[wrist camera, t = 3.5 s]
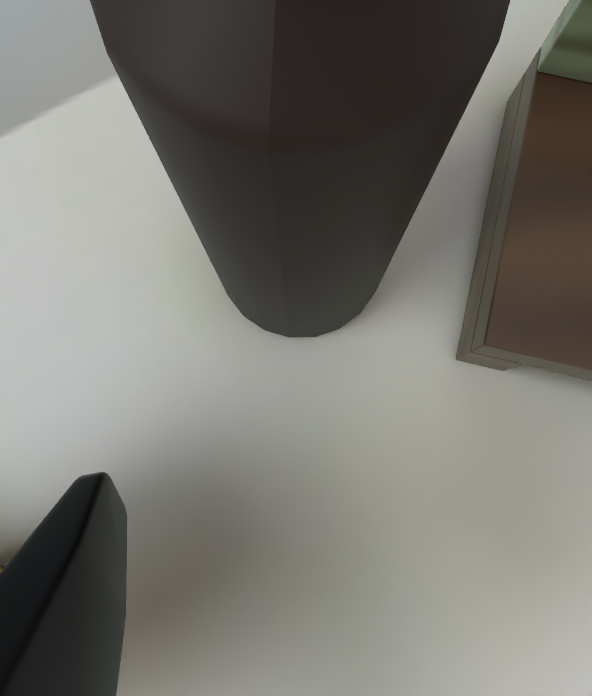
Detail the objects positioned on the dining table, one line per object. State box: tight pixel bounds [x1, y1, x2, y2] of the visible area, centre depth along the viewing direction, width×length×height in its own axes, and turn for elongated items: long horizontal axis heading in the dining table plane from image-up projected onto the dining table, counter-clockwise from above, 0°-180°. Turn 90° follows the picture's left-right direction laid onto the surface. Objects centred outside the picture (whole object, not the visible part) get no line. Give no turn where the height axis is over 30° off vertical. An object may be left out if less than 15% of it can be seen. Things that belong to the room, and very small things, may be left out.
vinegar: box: [90, 0, 510, 337], centre depth 13 cm, size 7×7×20 cm
